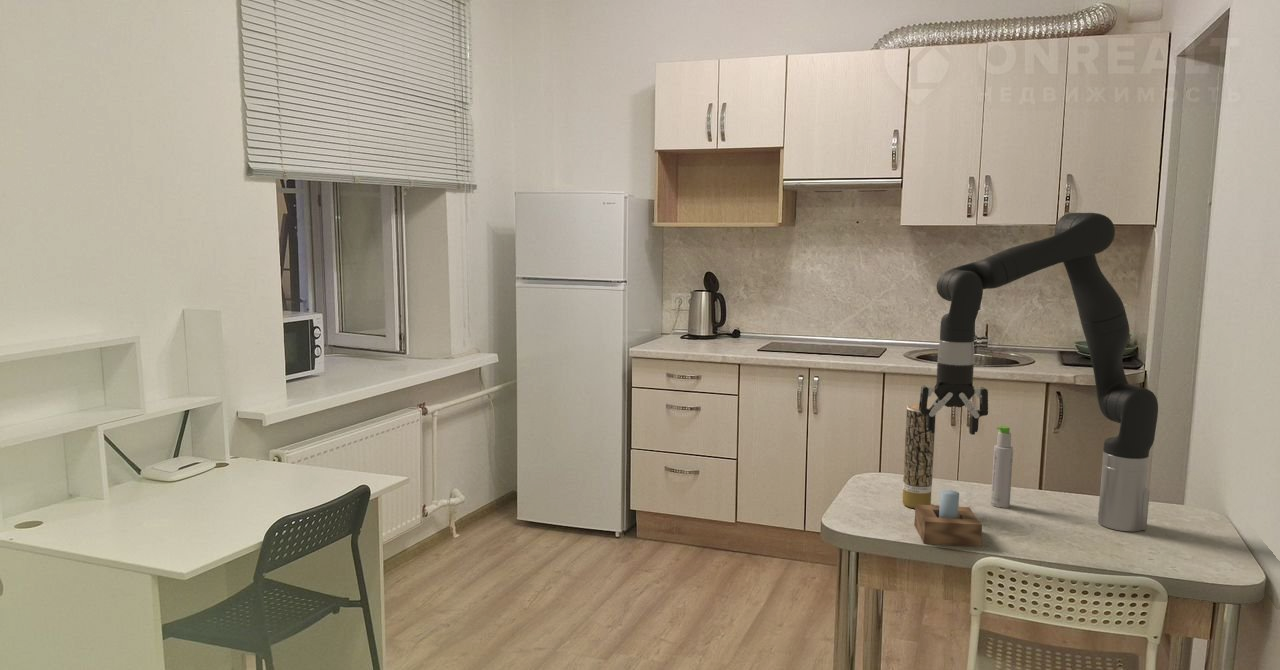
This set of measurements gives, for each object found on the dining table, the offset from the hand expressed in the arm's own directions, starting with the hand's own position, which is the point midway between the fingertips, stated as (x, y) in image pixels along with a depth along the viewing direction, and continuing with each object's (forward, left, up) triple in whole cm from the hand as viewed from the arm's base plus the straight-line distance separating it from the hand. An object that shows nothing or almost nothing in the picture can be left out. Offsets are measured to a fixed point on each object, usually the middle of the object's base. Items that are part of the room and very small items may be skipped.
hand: (951, 433), depth 191 cm
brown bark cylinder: (+3, -21, -24) cm, 32 cm away
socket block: (0, 0, -24) cm, 24 cm away
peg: (0, 0, -24) cm, 24 cm away
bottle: (-18, -25, -24) cm, 39 cm away
